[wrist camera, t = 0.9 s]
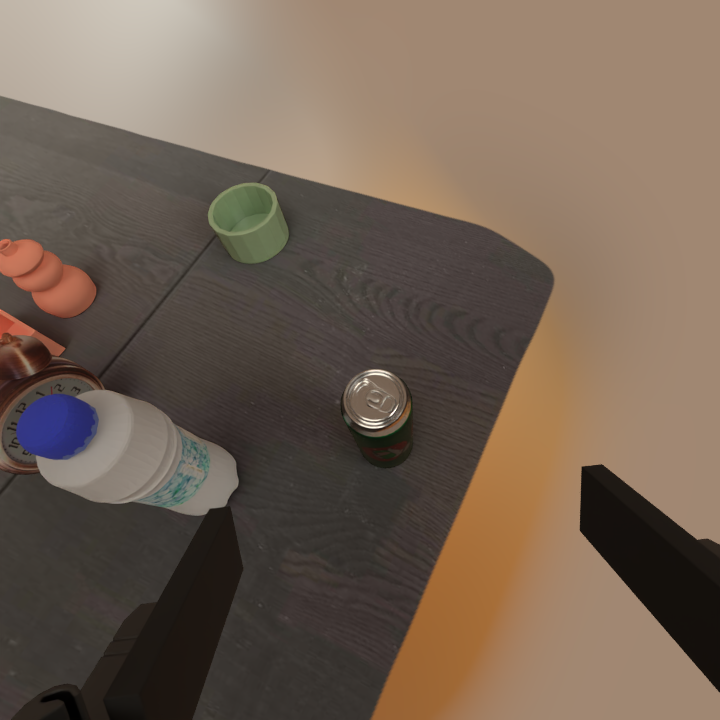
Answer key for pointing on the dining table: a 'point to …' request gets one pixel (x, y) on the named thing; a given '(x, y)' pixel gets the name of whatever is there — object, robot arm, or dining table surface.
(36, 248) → the pottery
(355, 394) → the soda can
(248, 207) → the cup
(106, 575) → the dining table surface
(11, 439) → the alarm clock
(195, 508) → the bottle
